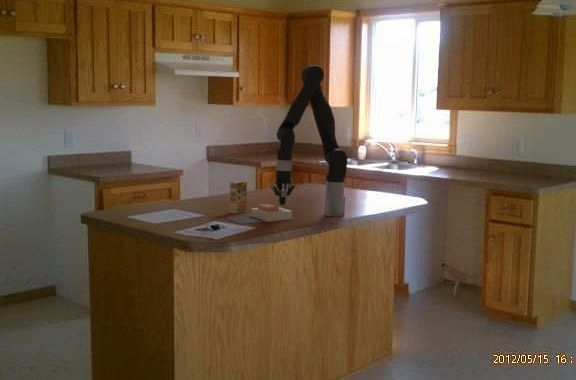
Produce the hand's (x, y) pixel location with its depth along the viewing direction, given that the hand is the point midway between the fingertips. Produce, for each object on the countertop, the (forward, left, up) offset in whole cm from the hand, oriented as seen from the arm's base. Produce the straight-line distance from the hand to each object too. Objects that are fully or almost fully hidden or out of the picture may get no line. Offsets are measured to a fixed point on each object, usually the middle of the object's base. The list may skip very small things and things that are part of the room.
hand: (282, 204), depth 331 cm
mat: (+21, 0, -6) cm, 22 cm away
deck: (+6, 0, -6) cm, 9 cm away
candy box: (+13, -19, -6) cm, 24 cm away
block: (+8, 0, -2) cm, 8 cm away
